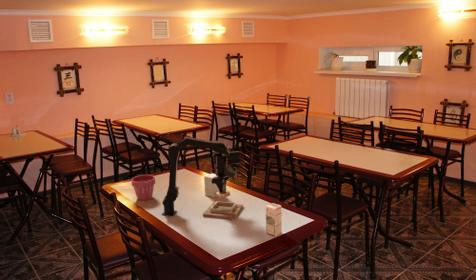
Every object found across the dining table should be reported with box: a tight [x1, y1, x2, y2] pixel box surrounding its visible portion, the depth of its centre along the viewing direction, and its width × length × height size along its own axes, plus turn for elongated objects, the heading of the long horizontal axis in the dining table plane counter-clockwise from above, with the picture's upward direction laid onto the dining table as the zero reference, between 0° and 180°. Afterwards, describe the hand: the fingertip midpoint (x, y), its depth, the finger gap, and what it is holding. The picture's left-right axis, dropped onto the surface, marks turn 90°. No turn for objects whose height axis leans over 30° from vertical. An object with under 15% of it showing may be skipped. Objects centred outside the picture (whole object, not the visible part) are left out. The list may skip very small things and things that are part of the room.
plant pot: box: [130, 174, 156, 201], centre depth 265 cm, size 14×14×13 cm
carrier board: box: [202, 200, 244, 220], centre depth 241 cm, size 18×18×4 cm
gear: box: [215, 182, 231, 199], centre depth 238 cm, size 8×8×6 cm
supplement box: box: [203, 173, 219, 198], centre depth 267 cm, size 7×7×13 cm
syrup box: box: [265, 202, 283, 237], centre depth 211 cm, size 6×6×14 cm
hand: (222, 191), depth 239 cm, fingers closed on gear, 4 cm apart
